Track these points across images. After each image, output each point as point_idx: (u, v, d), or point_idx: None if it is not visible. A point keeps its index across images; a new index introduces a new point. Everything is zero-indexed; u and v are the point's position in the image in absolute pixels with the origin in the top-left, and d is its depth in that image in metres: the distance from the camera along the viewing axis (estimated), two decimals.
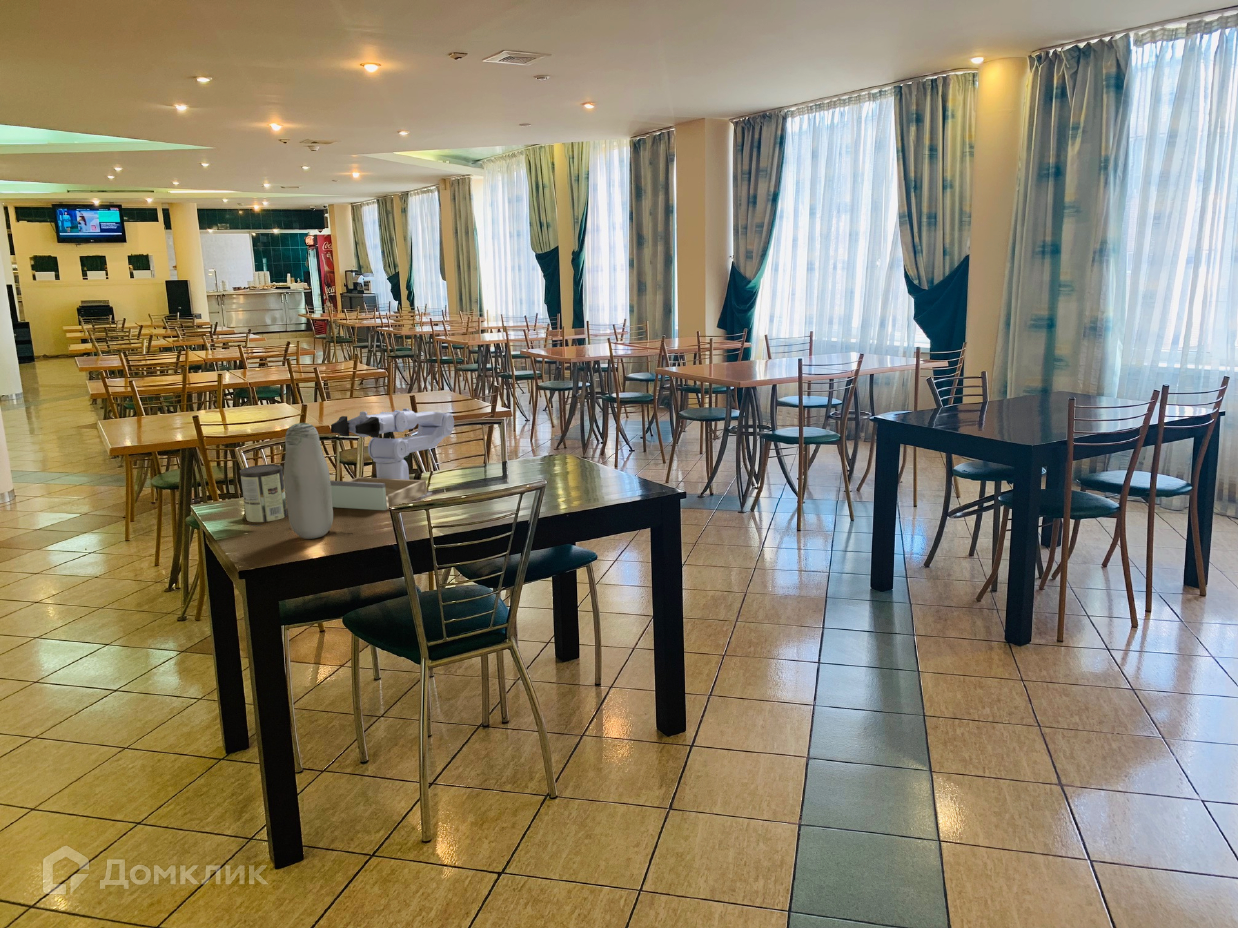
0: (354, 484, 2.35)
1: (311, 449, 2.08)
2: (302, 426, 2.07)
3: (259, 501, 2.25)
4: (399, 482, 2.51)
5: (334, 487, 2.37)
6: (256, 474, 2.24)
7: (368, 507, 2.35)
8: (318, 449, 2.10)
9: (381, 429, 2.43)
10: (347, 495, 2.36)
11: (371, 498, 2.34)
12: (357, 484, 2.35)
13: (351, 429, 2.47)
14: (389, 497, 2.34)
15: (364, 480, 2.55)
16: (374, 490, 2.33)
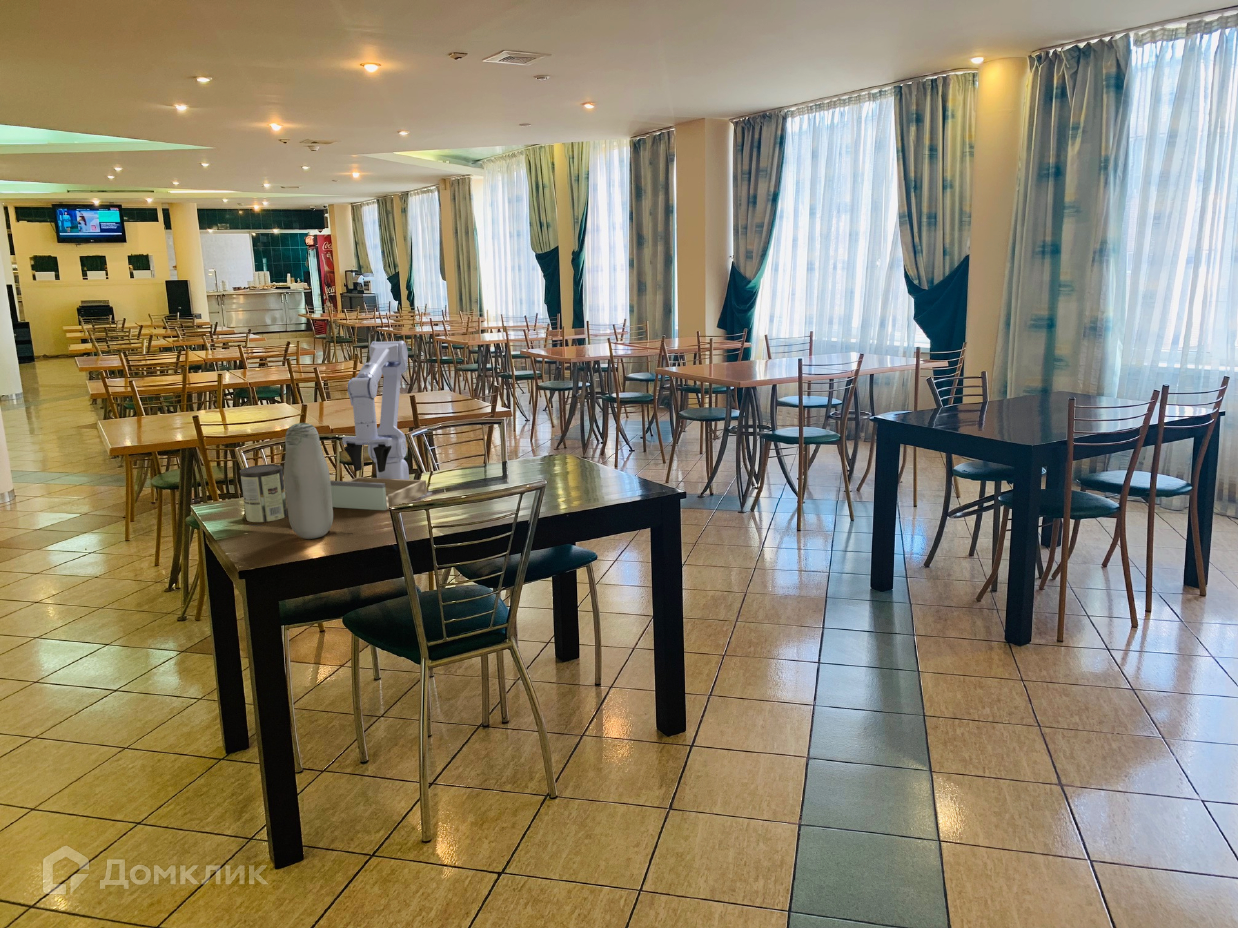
0: (354, 484, 2.35)
1: (311, 449, 2.08)
2: (302, 426, 2.07)
3: (259, 501, 2.25)
4: (399, 482, 2.51)
5: (334, 487, 2.37)
6: (256, 474, 2.24)
7: (368, 507, 2.35)
8: (318, 449, 2.10)
9: None
10: (347, 495, 2.36)
11: (371, 498, 2.34)
12: (357, 484, 2.35)
13: None
14: (389, 497, 2.34)
15: (364, 480, 2.55)
16: (374, 490, 2.33)
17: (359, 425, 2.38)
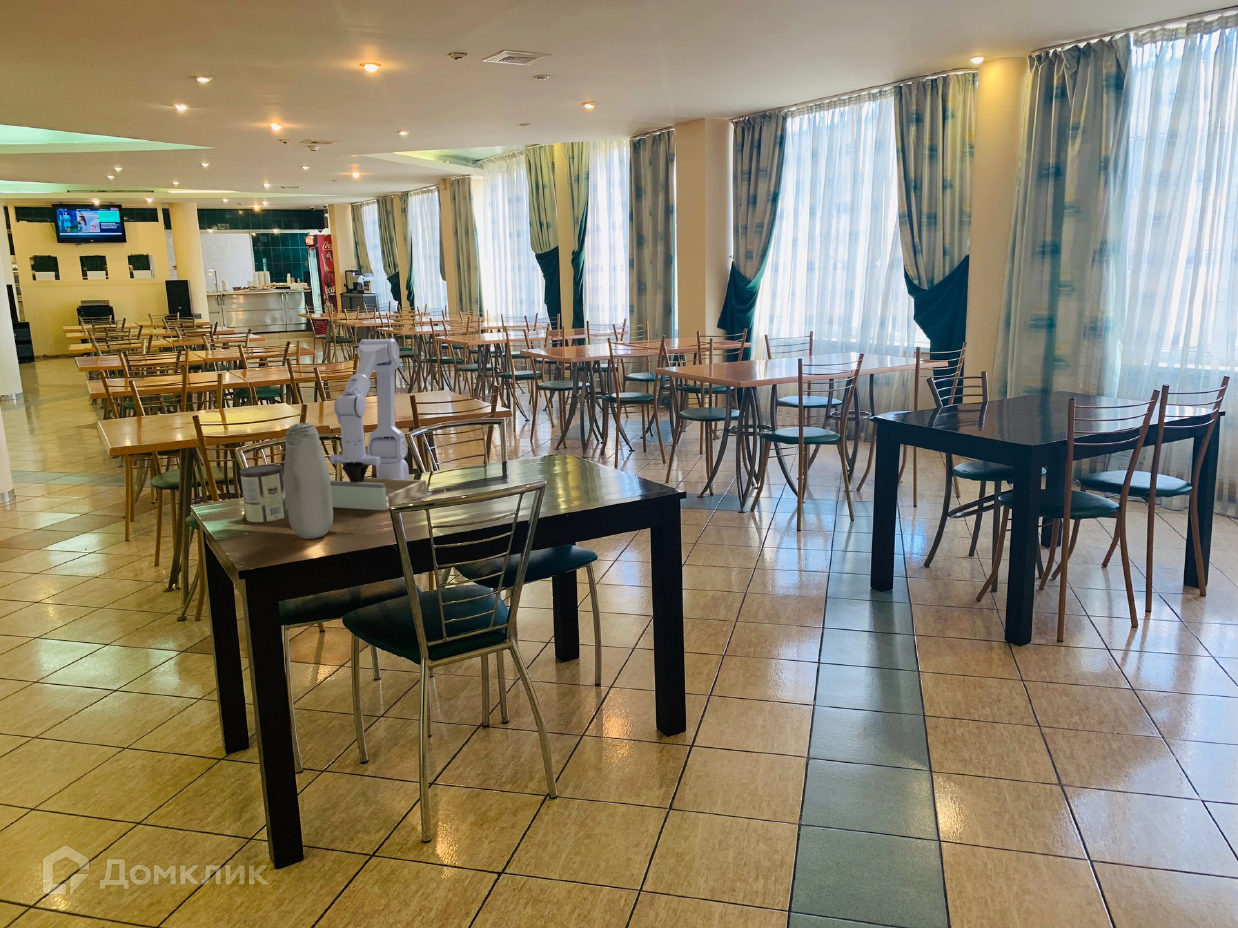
0: (354, 484, 2.35)
1: (311, 449, 2.08)
2: (302, 426, 2.07)
3: (259, 501, 2.25)
4: (399, 482, 2.51)
5: (334, 487, 2.37)
6: (256, 474, 2.24)
7: (368, 507, 2.35)
8: (318, 449, 2.10)
9: None
10: (347, 495, 2.36)
11: (371, 498, 2.34)
12: (357, 484, 2.35)
13: None
14: (389, 497, 2.34)
15: (364, 480, 2.55)
16: (374, 490, 2.33)
17: (346, 444, 2.33)
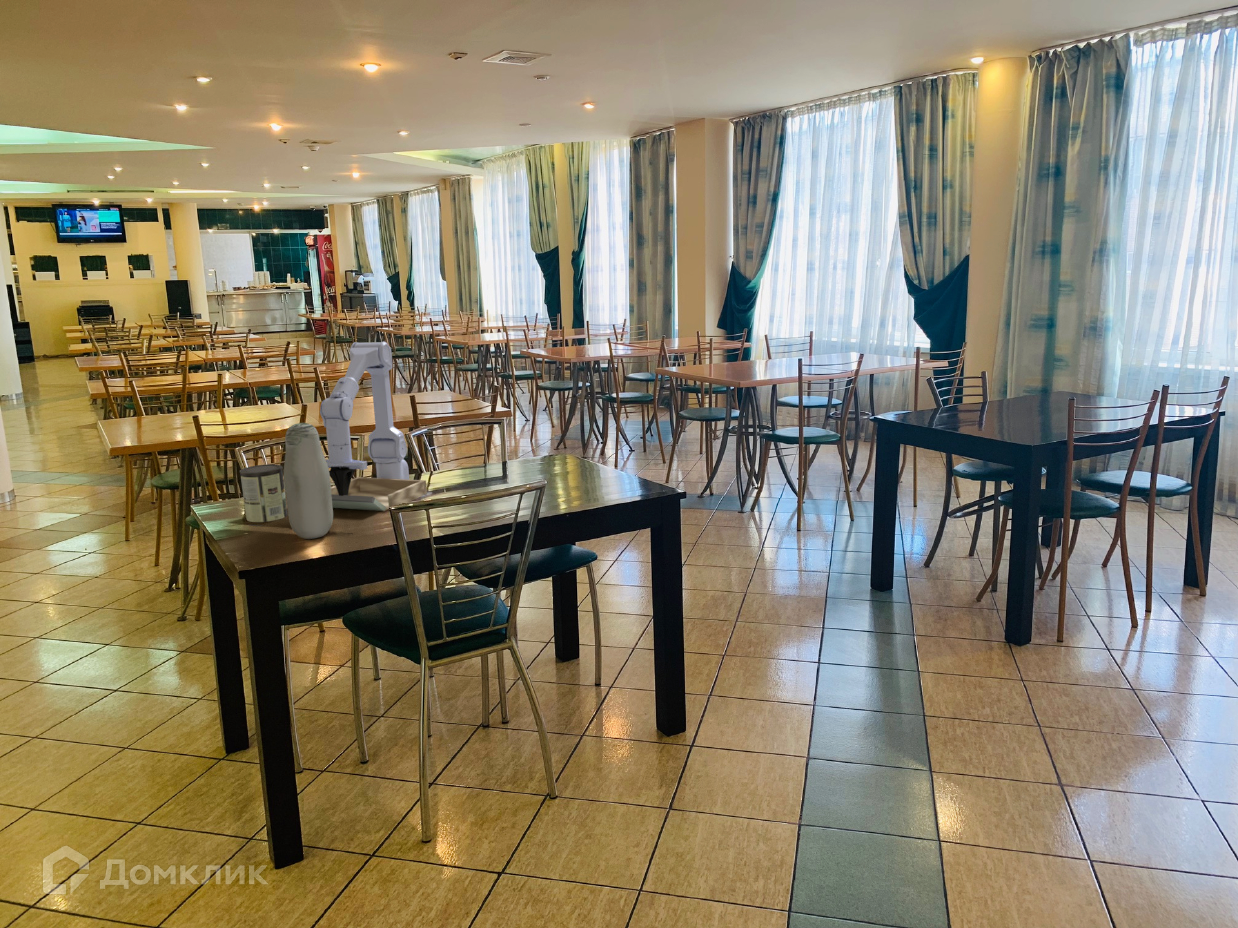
0: (344, 500, 2.31)
1: (311, 449, 2.08)
2: (302, 426, 2.07)
3: (259, 501, 2.25)
4: (399, 482, 2.51)
5: None
6: (256, 474, 2.24)
7: None
8: (318, 449, 2.10)
9: (364, 468, 2.29)
10: (343, 504, 2.35)
11: (367, 506, 2.33)
12: (347, 500, 2.31)
13: None
14: (389, 497, 2.34)
15: (364, 480, 2.55)
16: (366, 503, 2.30)
17: (332, 448, 2.27)
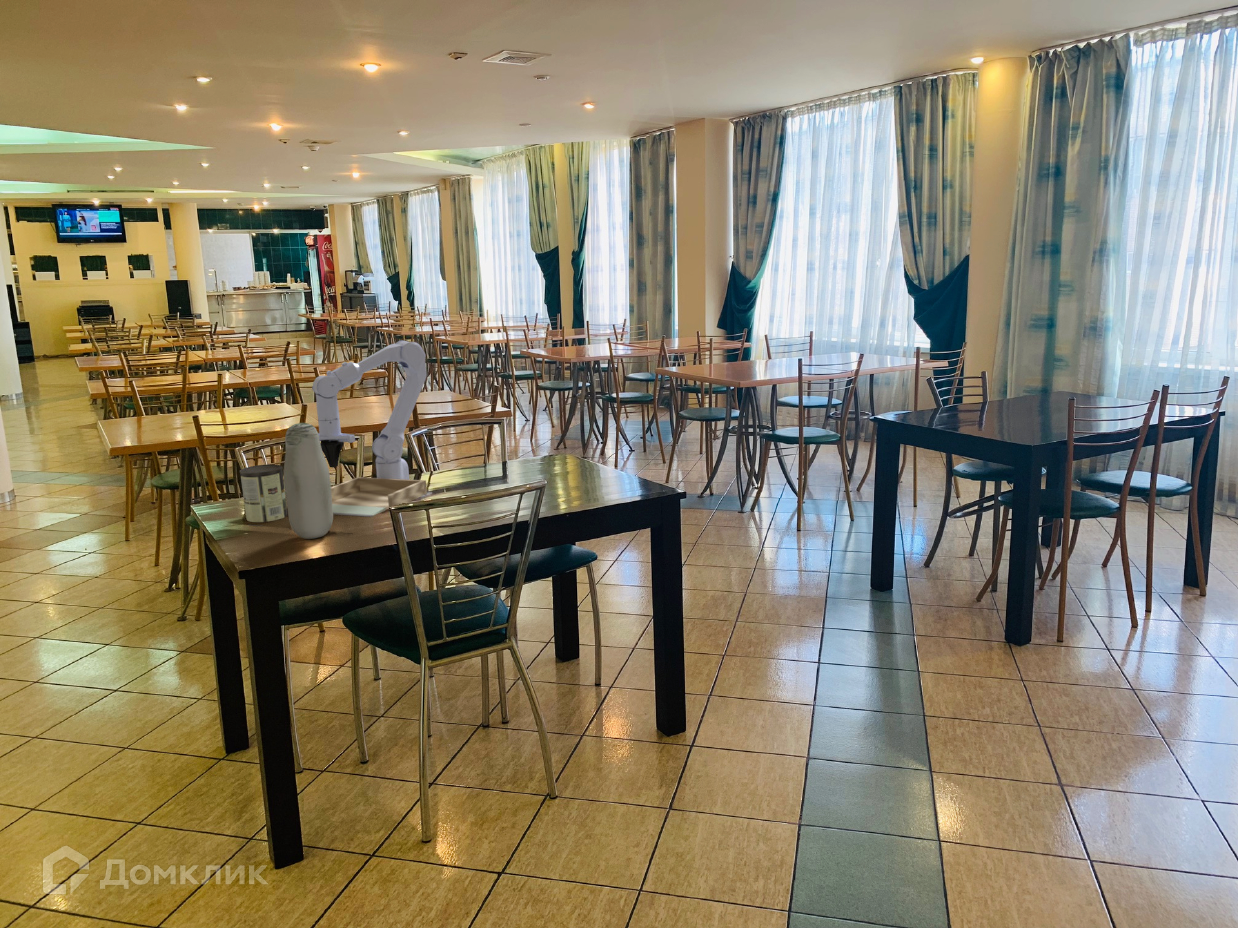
0: None
1: (311, 449, 2.08)
2: (302, 426, 2.07)
3: (259, 501, 2.25)
4: (399, 482, 2.51)
5: None
6: (256, 474, 2.24)
7: None
8: (318, 449, 2.10)
9: (352, 441, 2.47)
10: None
11: None
12: None
13: None
14: (389, 497, 2.34)
15: (364, 480, 2.55)
16: None
17: (322, 422, 2.45)
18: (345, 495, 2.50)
